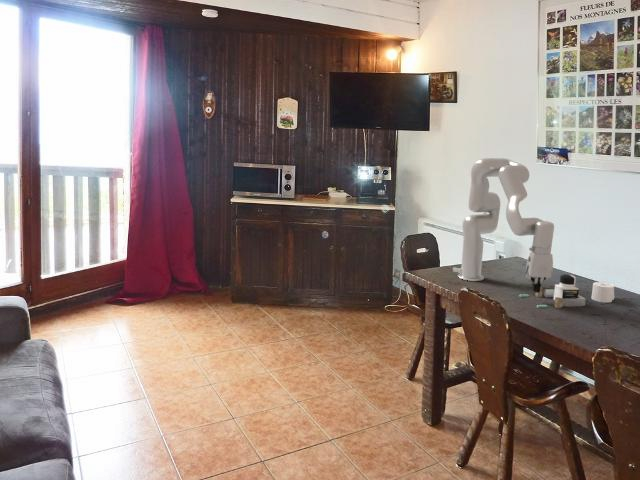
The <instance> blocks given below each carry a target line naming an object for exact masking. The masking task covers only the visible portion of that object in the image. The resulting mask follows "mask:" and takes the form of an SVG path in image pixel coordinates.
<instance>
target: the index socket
mask: <svg viewBox="0 0 640 480" xmlns="http://www.w3.org/2000/svg"><path fill="white" fill-rule="evenodd" d="M554 290H555V288H554V289H553V288H552V289H551V288H550V289H544V292H543V293H544V294H543V295H544V296H543V297H544V298H554ZM585 306H586V297H583V296H581V295H579V294H578V298H562V306H561V307H585Z"/></svg>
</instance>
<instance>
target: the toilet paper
mask: <svg viewBox="0 0 640 480" xmlns="http://www.w3.org/2000/svg"><path fill="white" fill-rule="evenodd" d="M591 291H592V292H591V300H592V301H595V302H599V303H605V304H606V303H612V302H613V301H614V299H615V284H614V283H608V282H601V281H600V282H599V281H595V282H593V283H592V290H591ZM612 300H613V301H612Z"/></svg>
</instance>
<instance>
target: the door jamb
mask: <svg viewBox="0 0 640 480" xmlns="http://www.w3.org/2000/svg"><path fill="white" fill-rule="evenodd" d="M534 293H535V292H534ZM534 296H535V297H537V298H540V297H543V286H541V289H540V292H539V293H538V292H537V293H535V295H534ZM553 305H554V308H556V309H562V307H563V306H562V298H560V297H555V300H554V304H553Z"/></svg>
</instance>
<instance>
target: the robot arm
mask: <svg viewBox="0 0 640 480" xmlns="http://www.w3.org/2000/svg"><path fill="white" fill-rule="evenodd" d="M488 177H490V178H491V177H495V178H496V177H498V179H499V181H500V184H501V187H502V189H503V192H504V194H505V196H506V198H507V205H506V209H505V211H506V212H505V216H506V221H507V223H508V226H509V228H510V230H511V232H512V233H513V234H514V235H515V236H519V237H523V236H525V237H526V236H533V239H532V245H531V246H530V247H529V249H528V250H529V251H530V252H529V255H528V257H527V262H526V265H525V266H526V267H525V274H526V275H525V279H528V280H530V281H531V282H532V287H531V290H532V291H533V292H534V293H537V292H538V293H539V292H540V289H541V287H542V284H544V281H546V280H550V278H551V277H552V276H553V270H554V268H553V267H554V257H553V253H551V252H552V247H553V246H552V244H553V240H554V239H553V238H554V232H555V231H554V230H555V224H554V223H553V222H551V221H548V220H543V219H541V218H538V217H523V218H522V215H521V213H520V208H519V205H520V203H521V202H523V201H524V200H525V199H526V198H527V197H528V192H527V190H526V187H525V185H524V184H525V183H526V182H528V181H529V179H530V171H529V169H528V167H527V166H525V165H524V164H521V163H518V162H515V161H514V160H511V159H510V158H509V159H508V158H499V157H497V158H494V157H493V158H492V157H491V158H488V157H487V158H481V159H478V160H476V161H475V162H474V163H473V165H472V167H471V170H470V179H471V181H470V188H469V189H470V190H469V196H468V198H469V199H468V209H469V211H470V212H471V213H472V212H473V213H483V214H470V215H467V216H465V218H463V220H462V234H463V240H462V241H463V242H462V255H461V267H455V266H454V267H452V271H453V272H454V273H458V274H457V276H458V277H459V278H458V277H457V278H458V279H459V280H462V279H463V280H464V281H467V280H468V281H469V282H480V281H483V280H484V279H485V277H484V275H483V274H482V266H483V265H482V264H483V254H484V240H483V237H482V236H481V235H484V234H492V233H494V232H495V231H496V230H497V227H498V223H499V219H500V209H501V199H500V196H499V195H498V193H495V192H492V191H489V190H490V182H489V178H488Z"/></svg>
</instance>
